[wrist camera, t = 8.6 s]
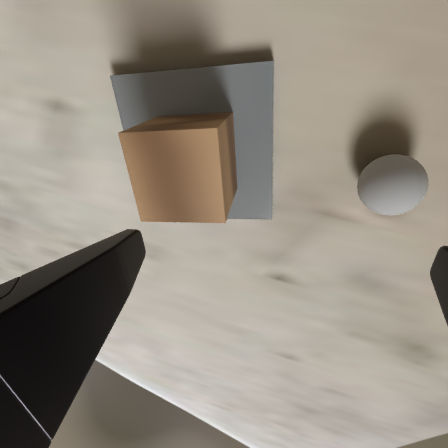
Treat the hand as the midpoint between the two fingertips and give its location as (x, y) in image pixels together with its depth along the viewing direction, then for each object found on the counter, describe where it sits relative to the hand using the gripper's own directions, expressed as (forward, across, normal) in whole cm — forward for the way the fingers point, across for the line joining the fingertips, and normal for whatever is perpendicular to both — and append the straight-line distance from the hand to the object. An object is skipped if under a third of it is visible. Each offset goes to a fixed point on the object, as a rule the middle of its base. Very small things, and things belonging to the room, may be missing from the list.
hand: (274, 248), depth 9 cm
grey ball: (+10, -7, +2) cm, 12 cm away
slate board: (+11, +6, 0) cm, 13 cm away
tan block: (+11, +5, 0) cm, 12 cm away
